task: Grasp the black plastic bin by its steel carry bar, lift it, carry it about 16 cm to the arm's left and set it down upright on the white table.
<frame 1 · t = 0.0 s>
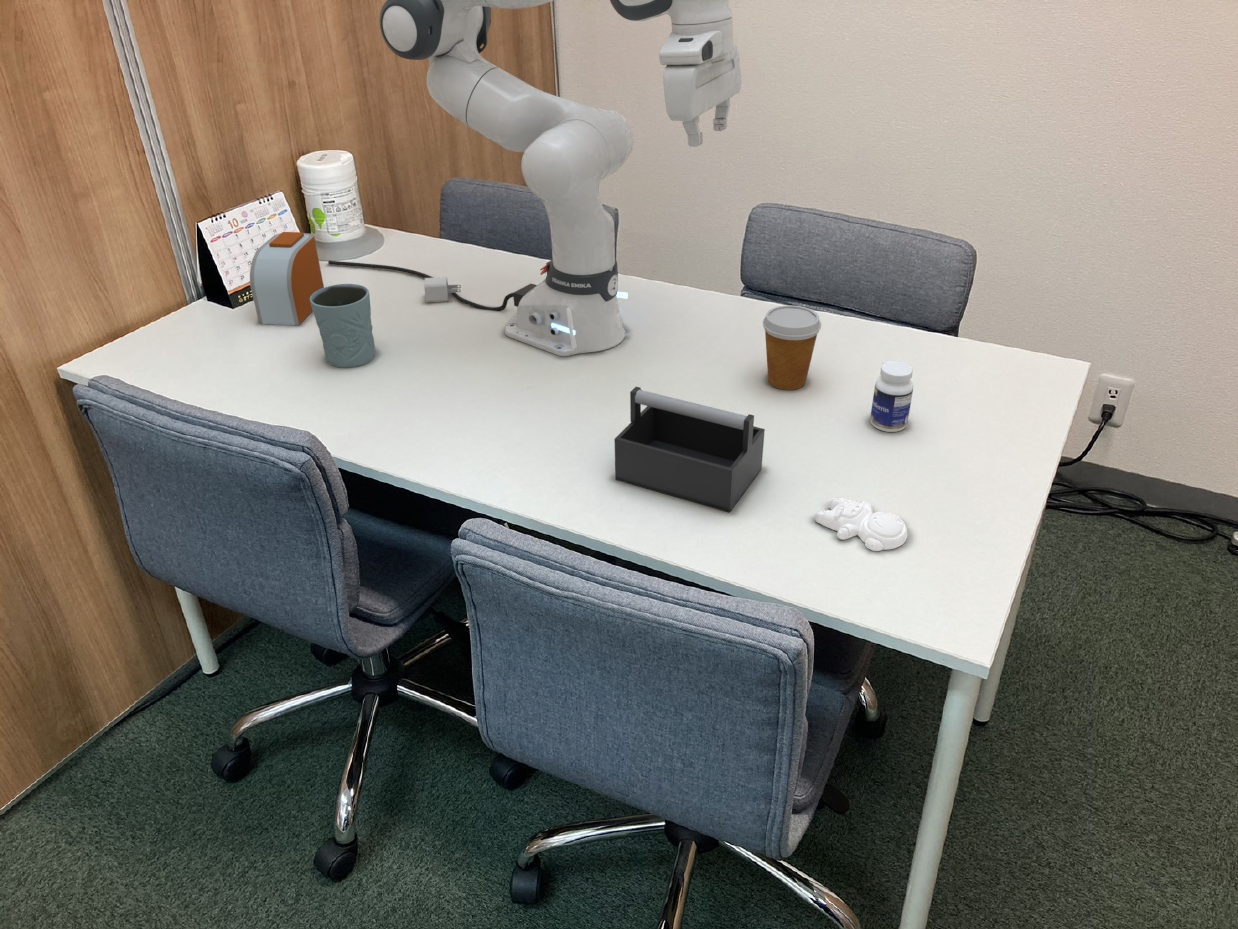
hand: (708, 137, 152), 39 cm above the table, tool pointing down, fingers open, 8 cm apart
usb wall charger: (444, 299, 198), on the table
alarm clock: (294, 309, 195), on the table
pill bottle: (888, 424, 155), on the table
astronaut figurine: (860, 528, 133), on the table
black bin: (688, 474, 144), on the table
green embossed cup: (351, 357, 178), on the table
disposable coffee cup: (786, 382, 167), on the table
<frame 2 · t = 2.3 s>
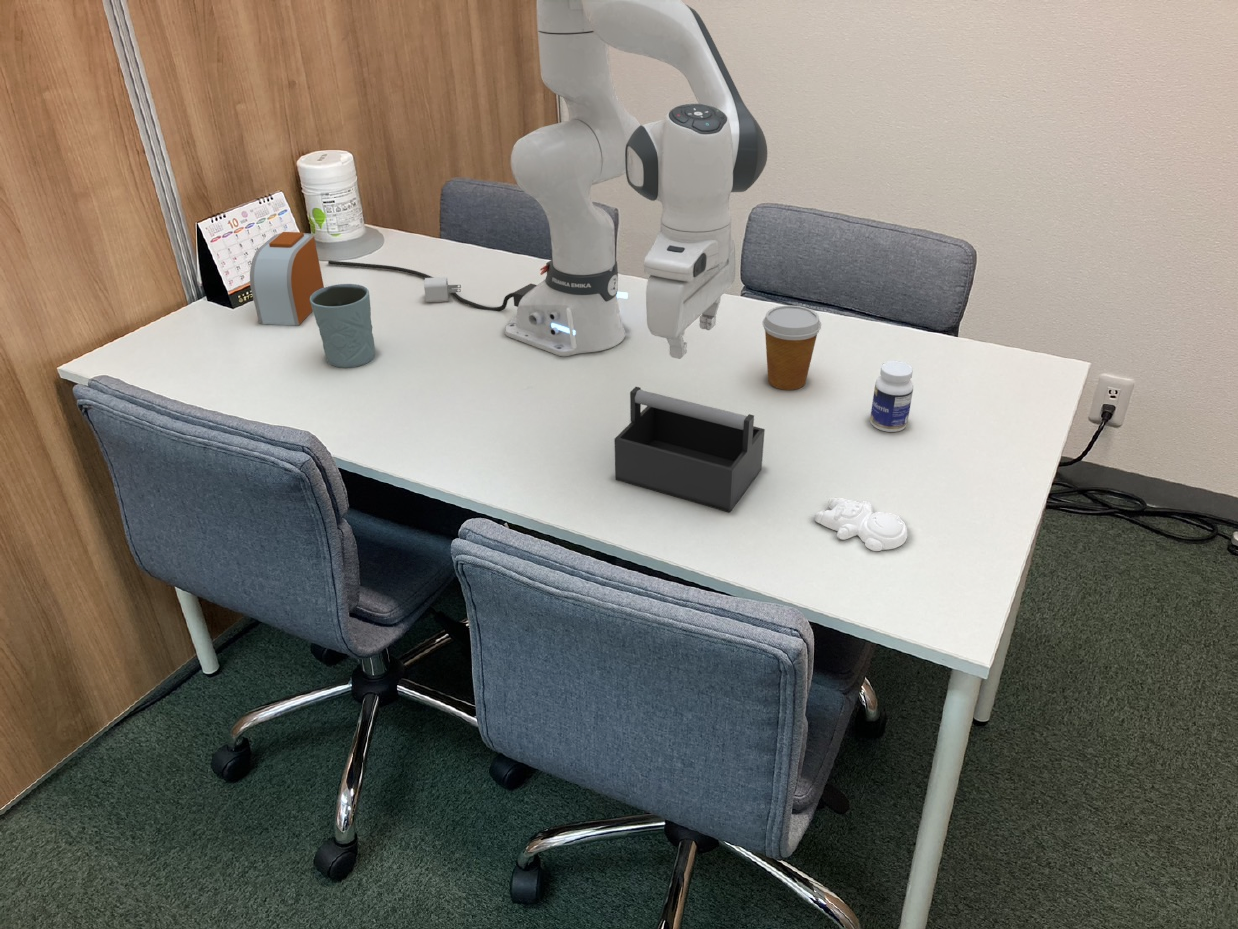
hand: (693, 341, 132), 22 cm above the table, tool pointing down, fingers open, 8 cm apart
nothing on the table moved.
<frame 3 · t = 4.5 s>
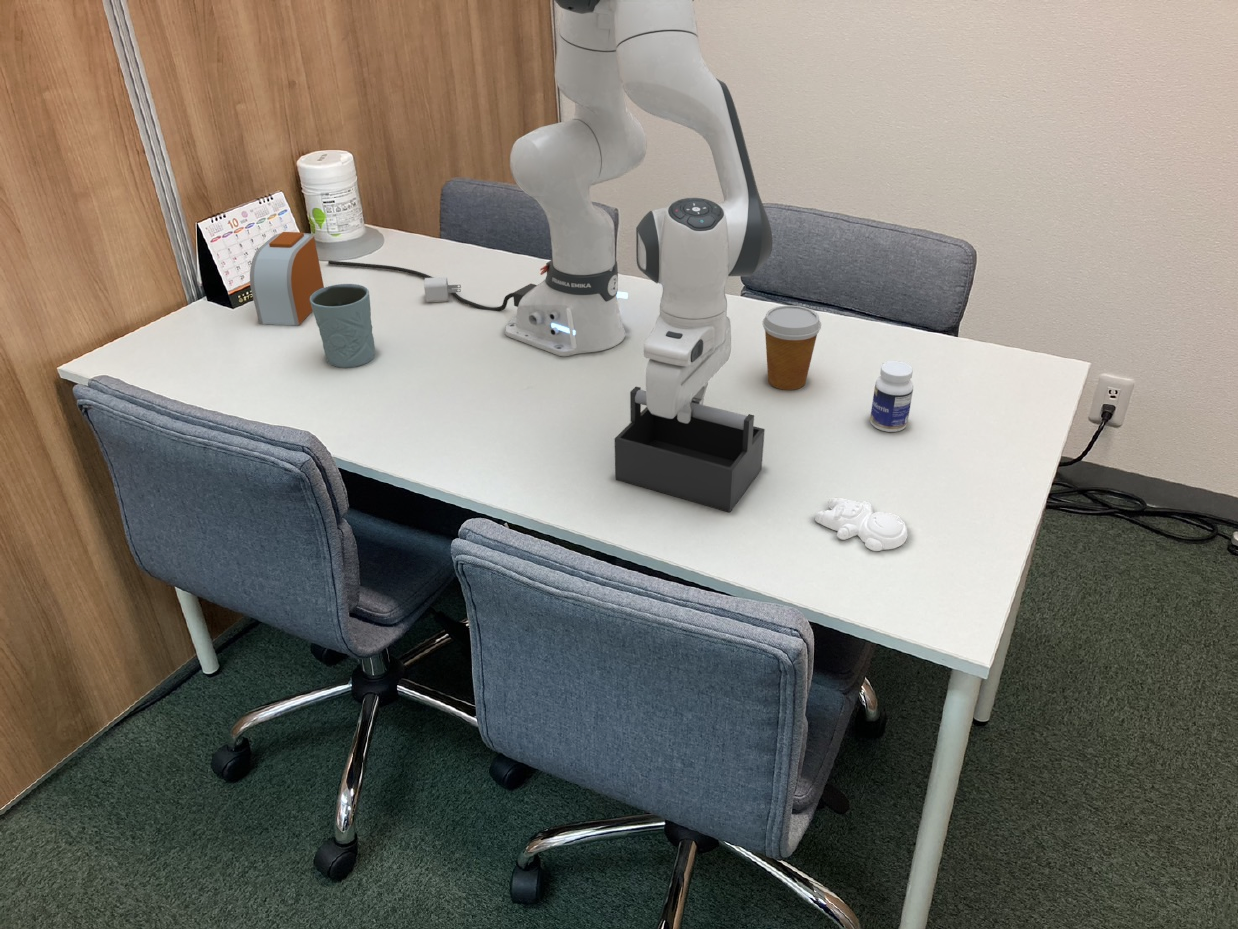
hand: (690, 414, 139), 10 cm above the table, tool pointing down, fingers closed on black bin
black bin: (688, 474, 144), on the table, touching gripper
everything else where it was.
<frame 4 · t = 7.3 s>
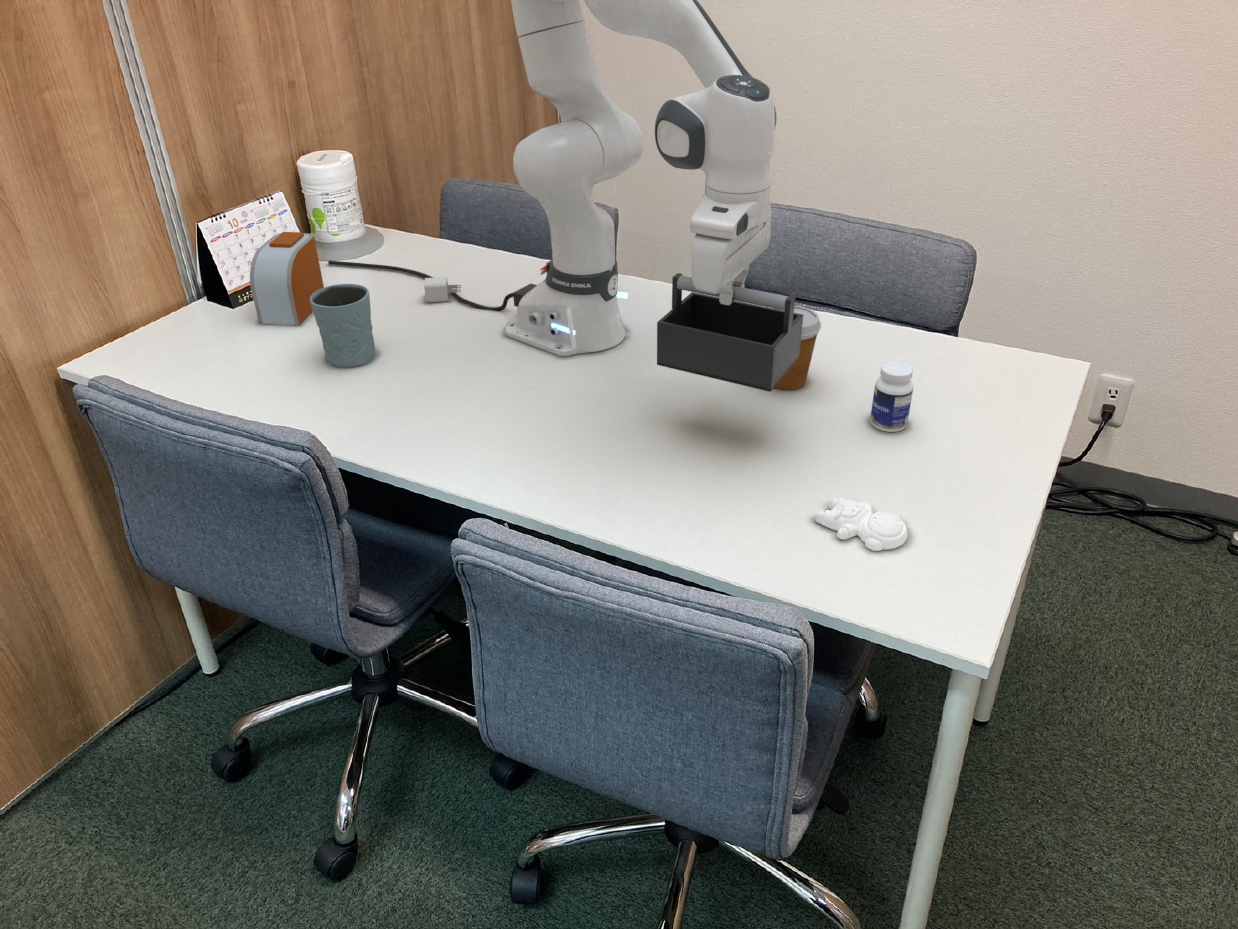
hand: (731, 298, 142), 22 cm above the table, tool pointing down, fingers closed on black bin
black bin: (728, 360, 148), point 12 cm above the table, touching gripper
everything else where it was.
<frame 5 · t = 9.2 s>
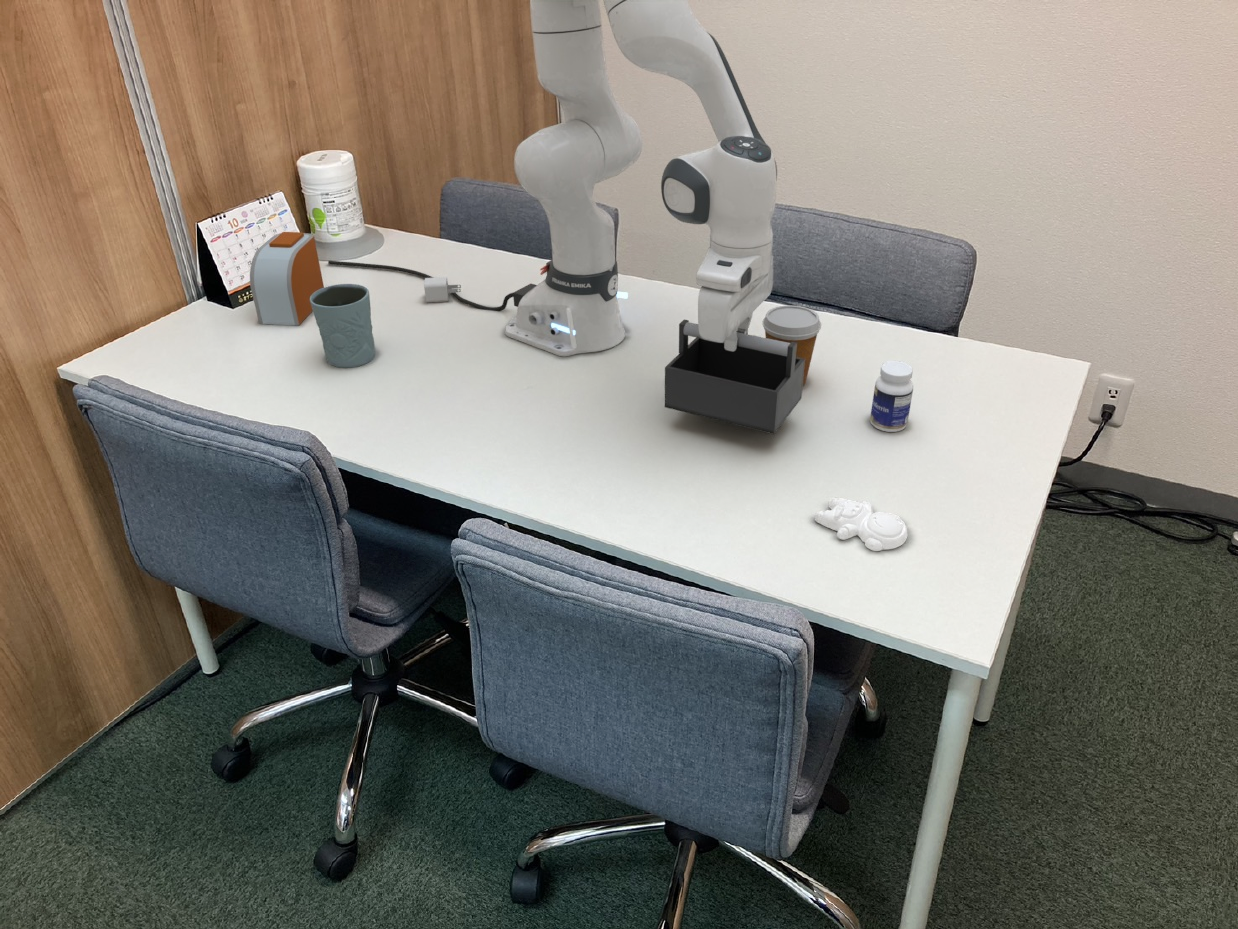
hand: (735, 344, 148), 14 cm above the table, tool pointing down, fingers closed on black bin
black bin: (733, 402, 154), point 4 cm above the table, touching gripper
everything else where it was.
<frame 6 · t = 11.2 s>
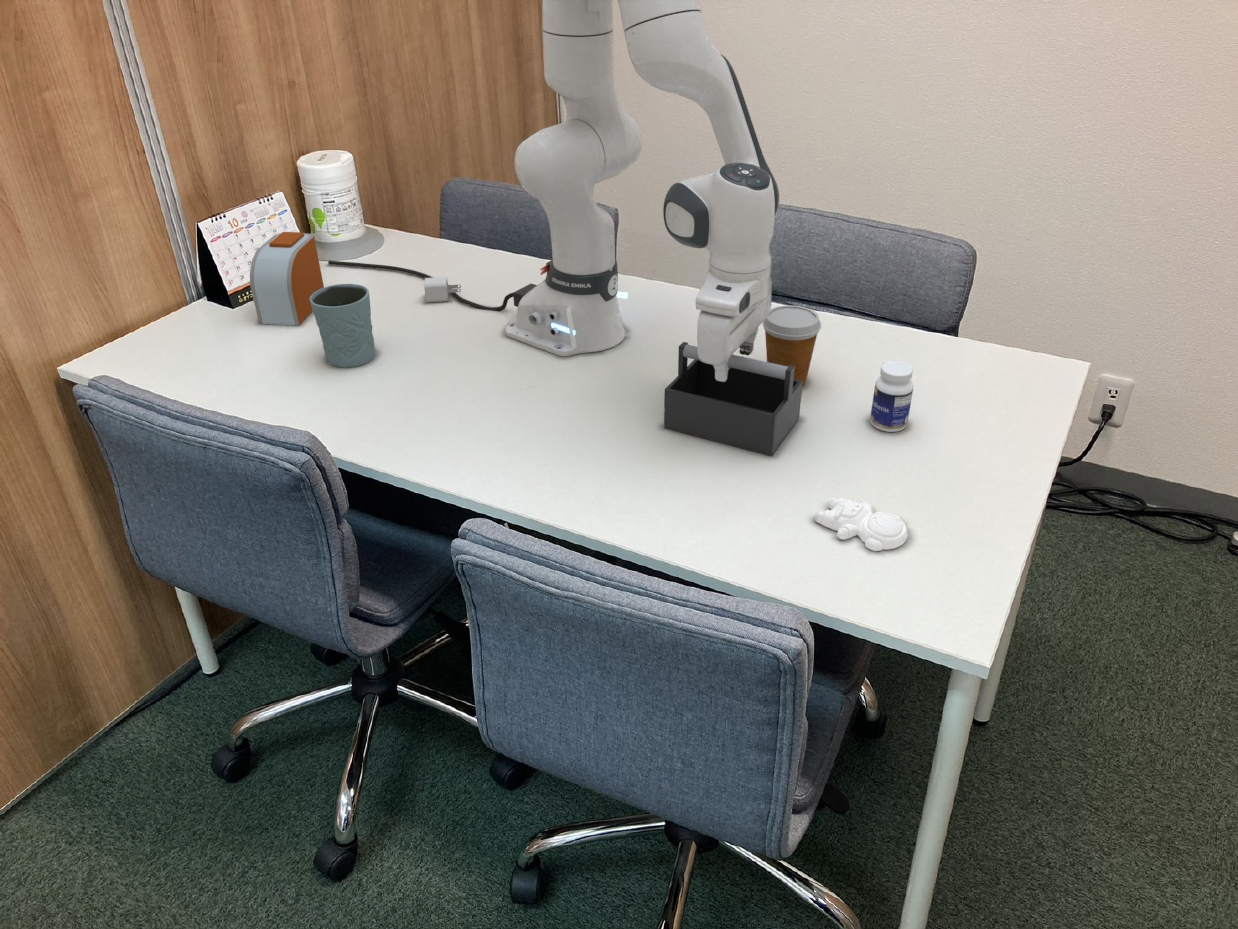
hand: (734, 365, 150), 10 cm above the table, tool pointing down, fingers open, 8 cm apart
black bin: (731, 423, 156), on the table
everything else where it was.
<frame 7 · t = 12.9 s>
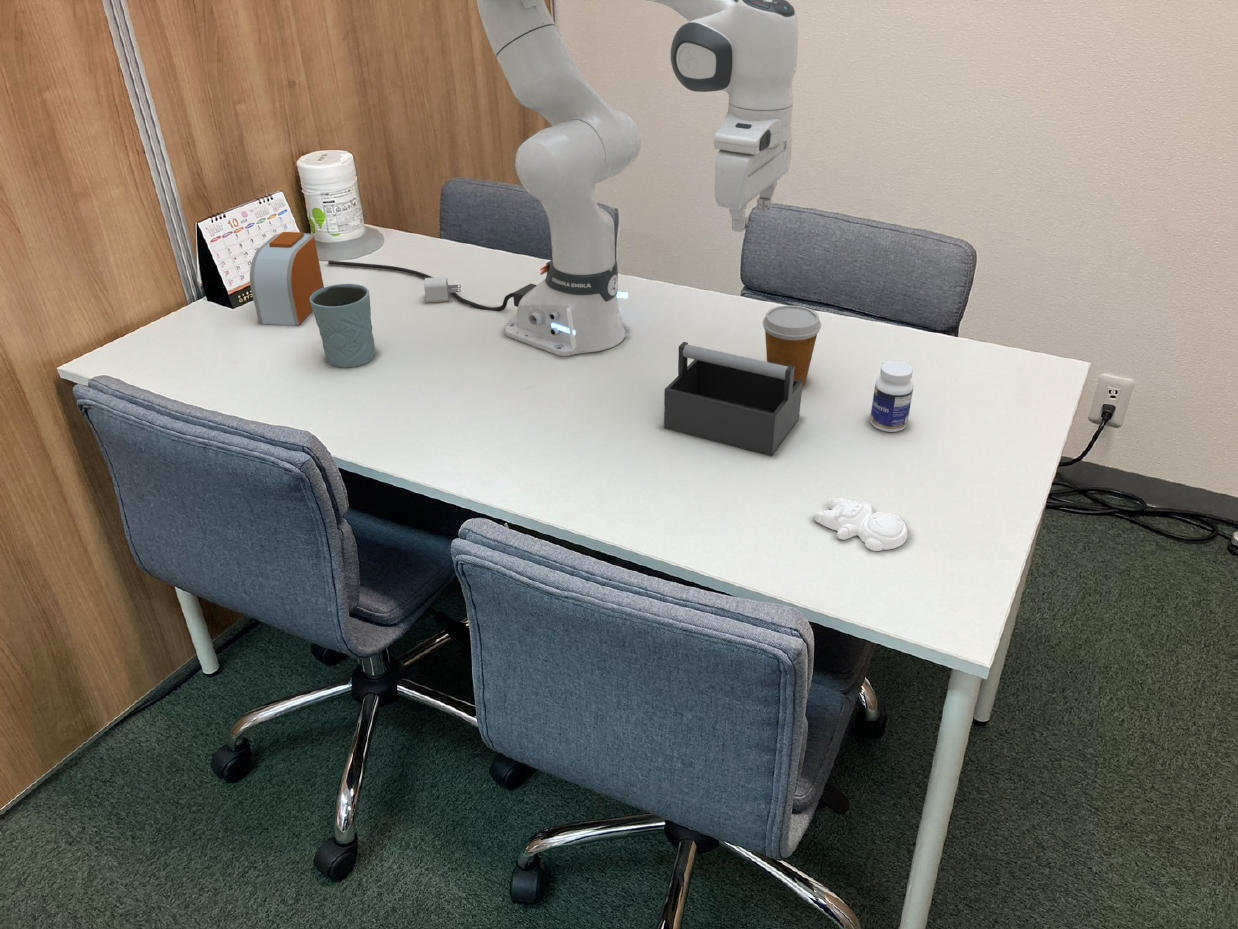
hand: (751, 219, 146), 30 cm above the table, tool pointing down, fingers open, 8 cm apart
nothing on the table moved.
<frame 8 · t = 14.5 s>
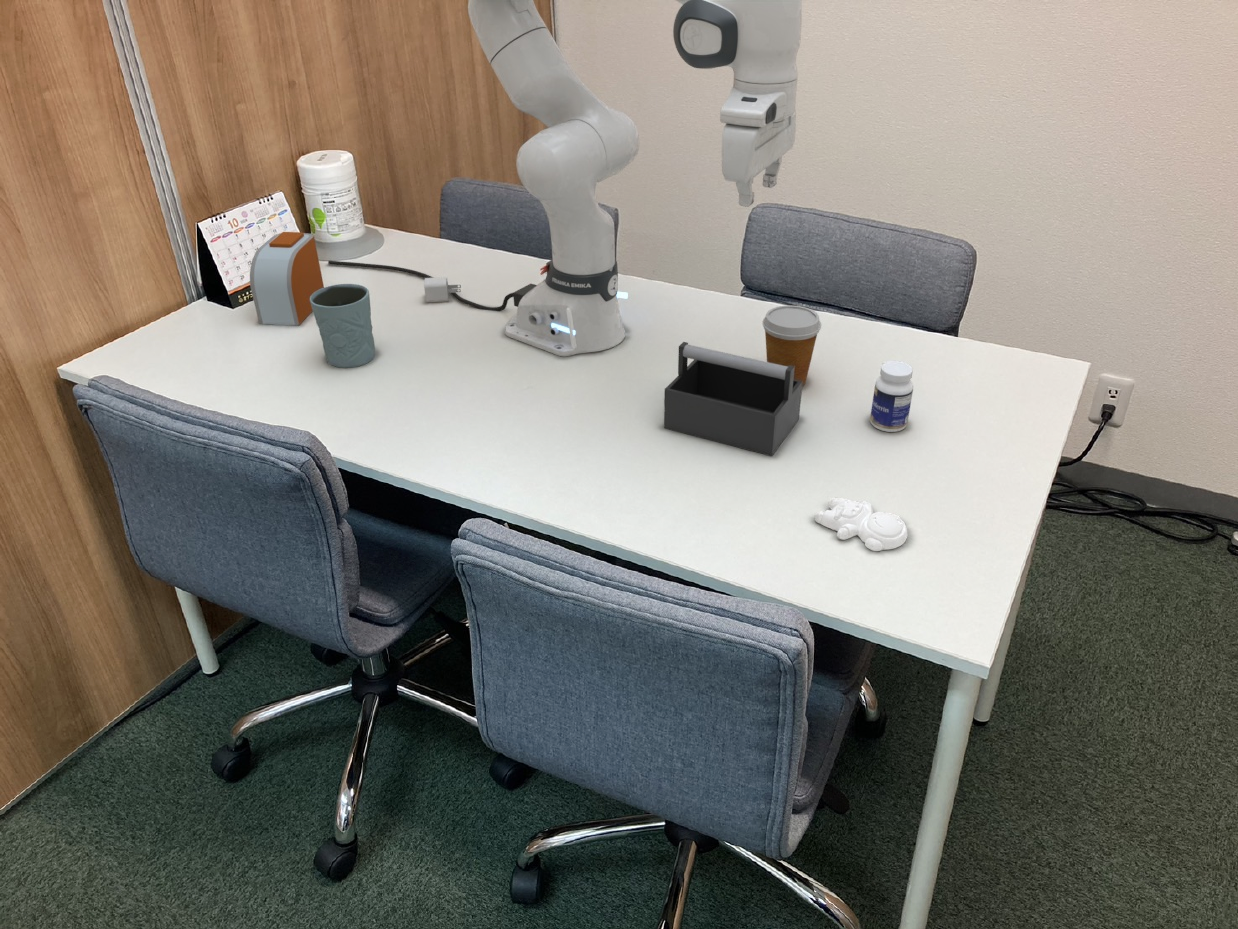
hand: (758, 195, 147), 33 cm above the table, tool pointing down, fingers open, 8 cm apart
nothing on the table moved.
at the end: black bin inside the target area (0.1 cm from its centre), on the table; black bin tilted 0°; the gripper is holding nothing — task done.
